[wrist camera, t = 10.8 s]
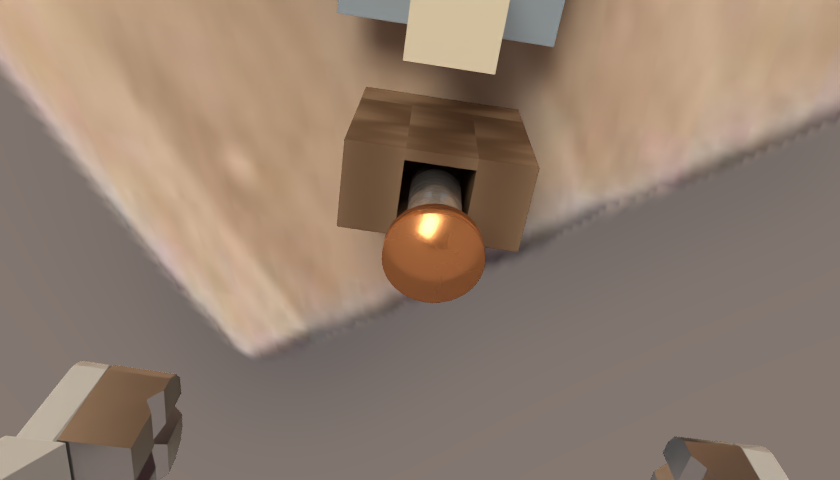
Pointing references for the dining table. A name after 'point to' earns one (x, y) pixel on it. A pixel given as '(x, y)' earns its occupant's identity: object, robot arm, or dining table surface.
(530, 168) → the box
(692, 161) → the dining table surface
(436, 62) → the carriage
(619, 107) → the dining table surface
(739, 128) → the dining table surface
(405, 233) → the button
